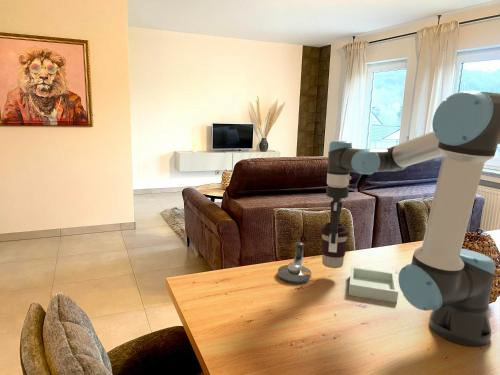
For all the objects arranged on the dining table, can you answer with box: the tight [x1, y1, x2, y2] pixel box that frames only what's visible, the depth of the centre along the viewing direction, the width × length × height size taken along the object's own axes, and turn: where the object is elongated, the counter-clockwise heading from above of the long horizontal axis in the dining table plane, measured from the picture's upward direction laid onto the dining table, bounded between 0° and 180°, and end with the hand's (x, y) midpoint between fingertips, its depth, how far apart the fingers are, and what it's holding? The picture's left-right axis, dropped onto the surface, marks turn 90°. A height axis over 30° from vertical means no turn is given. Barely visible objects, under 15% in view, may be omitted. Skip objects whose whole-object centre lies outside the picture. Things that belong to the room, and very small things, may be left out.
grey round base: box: [277, 264, 318, 285], centre depth 136 cm, size 12×14×2 cm
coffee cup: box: [319, 222, 350, 269], centre depth 134 cm, size 10×10×15 cm
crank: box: [287, 241, 305, 274], centre depth 139 cm, size 13×5×7 cm, turn 163°
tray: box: [348, 266, 399, 304], centre depth 128 cm, size 15×15×4 cm
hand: (333, 246), depth 134 cm, fingers closed on coffee cup, 10 cm apart
